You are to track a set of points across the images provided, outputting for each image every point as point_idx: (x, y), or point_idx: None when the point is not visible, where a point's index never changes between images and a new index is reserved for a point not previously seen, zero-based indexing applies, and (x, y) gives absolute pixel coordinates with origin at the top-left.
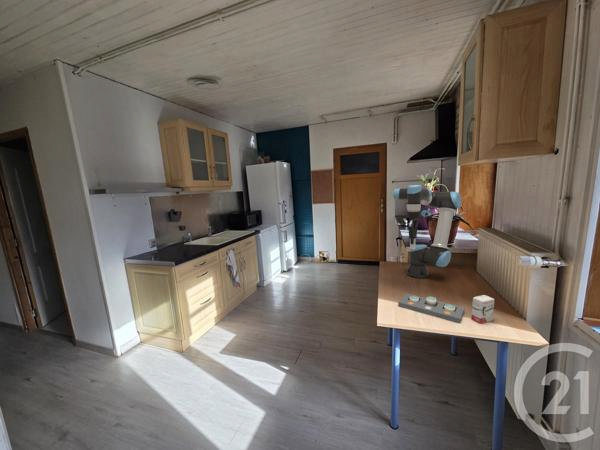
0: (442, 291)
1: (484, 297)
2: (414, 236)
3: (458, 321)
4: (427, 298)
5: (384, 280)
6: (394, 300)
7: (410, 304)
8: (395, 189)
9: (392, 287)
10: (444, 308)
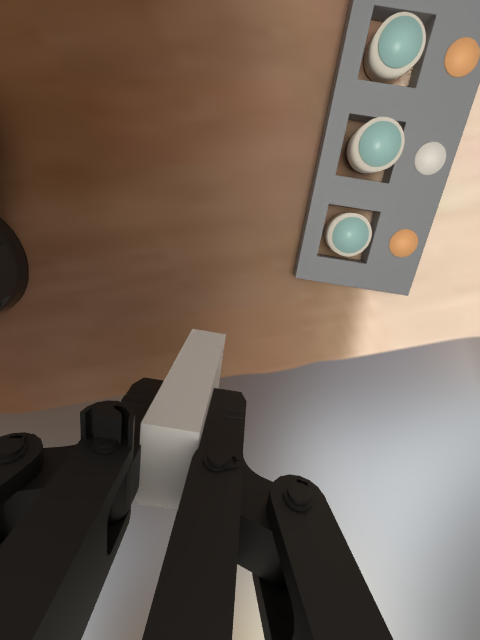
0: (137, 109)
1: None
2: (201, 496)
3: None
4: (388, 165)
5: None
6: (346, 313)
7: (418, 242)
8: None
9: None
10: (388, 80)
